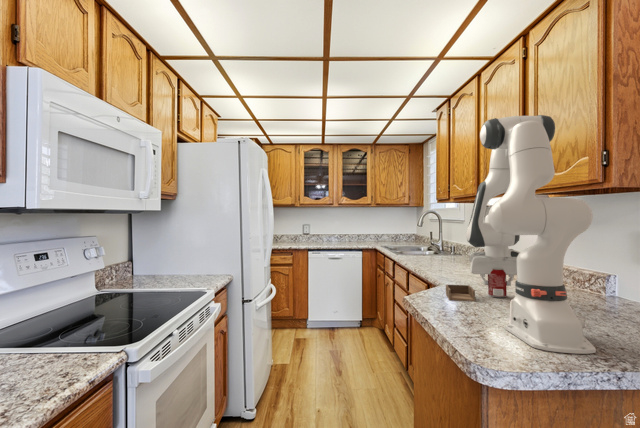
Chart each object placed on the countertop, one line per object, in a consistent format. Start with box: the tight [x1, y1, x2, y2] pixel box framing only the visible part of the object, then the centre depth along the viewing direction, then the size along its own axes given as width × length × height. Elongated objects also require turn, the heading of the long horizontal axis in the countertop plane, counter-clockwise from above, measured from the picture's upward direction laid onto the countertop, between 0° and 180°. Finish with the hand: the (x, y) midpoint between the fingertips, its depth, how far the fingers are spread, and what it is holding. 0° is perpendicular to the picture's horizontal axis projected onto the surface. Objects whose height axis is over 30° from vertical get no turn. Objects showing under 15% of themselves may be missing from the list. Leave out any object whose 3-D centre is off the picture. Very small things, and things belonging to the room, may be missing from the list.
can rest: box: [445, 284, 476, 302], centre depth 130 cm, size 10×10×4 cm
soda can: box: [487, 268, 508, 299], centre depth 131 cm, size 7×7×12 cm
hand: (497, 285), depth 131 cm, fingers open, 7 cm apart
